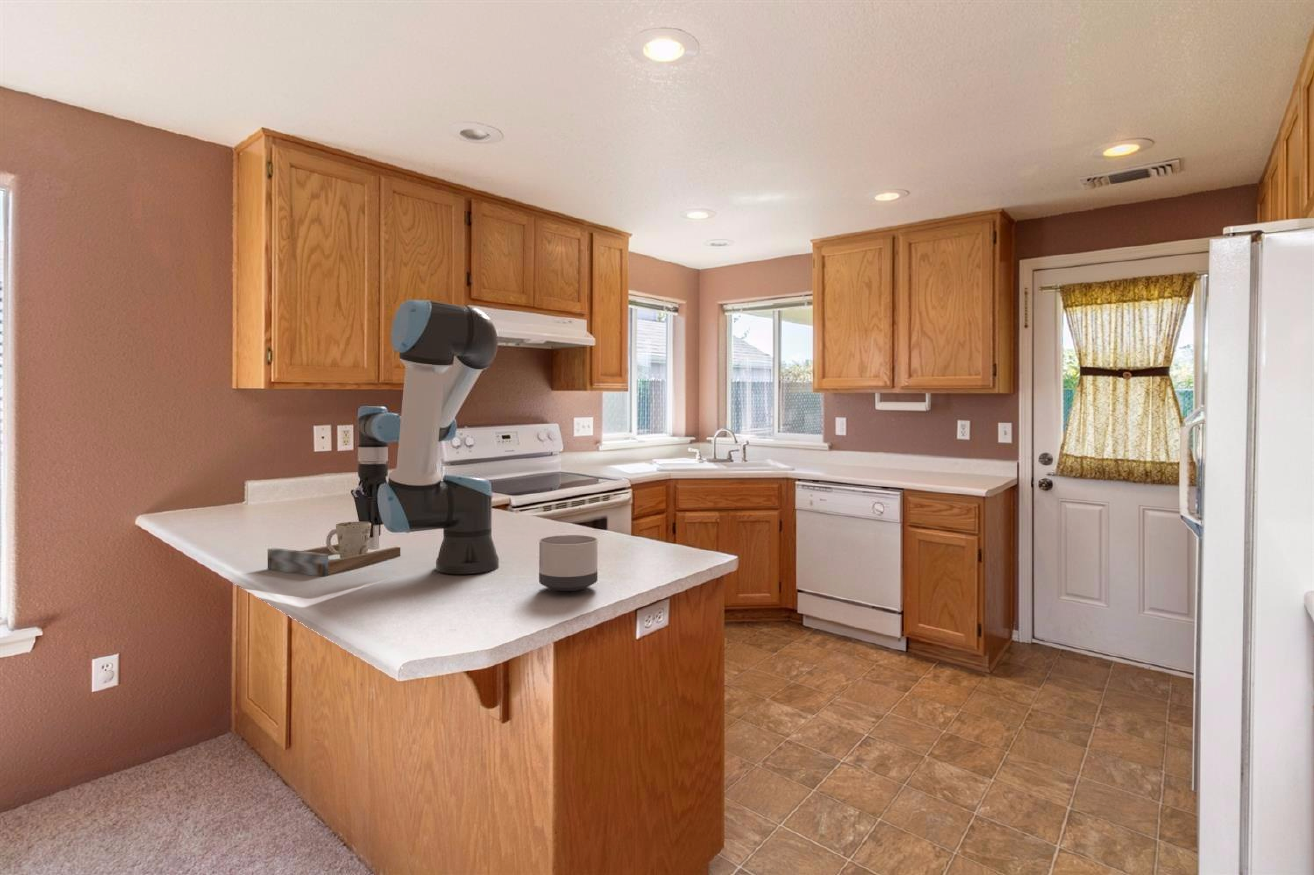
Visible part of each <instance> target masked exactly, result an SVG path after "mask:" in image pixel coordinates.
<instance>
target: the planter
mask: <svg viewBox="0 0 1314 875" xmlns="http://www.w3.org/2000/svg"><path fill="white" fill-rule="evenodd" d="M598 544H599V543H598V538H597V537H595V536H591V535H584V534H583V535H581V534H563V535H561V534H560V535H550V536H545V537H541V538H540V539H539V540H538V548H539V549H538V582H539V584H540V585H542V586H544V587H546V588H549V589H551V590H553V591H558V592H574V591H582V590H583V589H586V588H589V587H590V586H592V585H594V584H596V583H598V582H597V581H598V570H599V569H598V564H599V563H598V562H599V560H598V556H599V555H598V554H599V553H598V549H599V548H598V547H599V546H598Z"/></svg>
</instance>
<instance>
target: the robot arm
mask: <svg viewBox="0 0 1314 875" xmlns="http://www.w3.org/2000/svg"><path fill="white" fill-rule="evenodd" d="M390 338H391V340H390V341H391V346H392V349H393V350H394V351H395V352H397V353H398V359H399V360H400V362H401V363H402V364H403V365H404V367H405V370H404V380H403V392H402V402H401V412H400V413H399V412H398V413H397V412H395V413H394V412H389V411H388V408H387V407H386V406H371V405H369V406H368V405H365V406H359V408H358V412H357V417H356V418H357V419H356V421H357V443H358V444H357V461H358V462H359V464H358V465H357V477H359V481H358V486H357V487H356V488H355V489H351V491H350V494H351V496H352V498H353V501H354V505H355V510H356V514H357V519H358V522H370V523H371V529H370V537H369V544H368V550H375V551H377V550H380V536H381V533H382V531H381V526H383V525H384V527H385V529H386V530H387V531H389V532H390V533H392V534H394V533H395V534H398V533H401V534H402V533H406V534H409V533H415V532H423V531H424V532H425V531H432V530H433V531H435V530H441V529H442V530H443V534H442V535H443V536H442V538H443V539H442V542H441V544H440V547H439V551H438V554H437V555H438V556H437V557H436V561H435V571H437V572H438V573H441V574H447V575H448V574H449V575H470V574H480V573H487V572H490V571H491V572H492V571H494V570H496V569H498V568H499V563H500V562H499V560H500V558H499V555H498V553H497V550H496V547H495V543H494V540H493V537H492V530H493V529H492V526H493V525H492V524H493V522H492V519H493V518H492V516H493V513H492V512H493V508H492V507H493V505H492V504H493V500H492V499H493V491H492V483H491V481H490V480H488V479H487V478H484V477H473V476H464V475H457V474H456V475H453V474H444V475H443V478H442V476H441V475H440V474H439V473H438V472H437V470H436V466H437V457H438V448H439V443H441V442H447V441H452V440H453V439H454V438H456V435H457V430H458V429H457V428H458V425H457V423H458V422H457V420H456V416H457V414H458V413H459V411H460V409H461V407H462V406H463V404H464V403H465V401H466V399H467V397H468V396H469V393H470V392H471V390H472V389H473V387H474V385H475V384H476V382H477V380H478V379H479V378H480V375H481V373H482V372H483V370H487V369H488V368H489V367H490V366H491V365H492V363H493V362H494V360H495V358H496V355H497V352H498V348H499V347H498V346H499V344H498V343H499V340H498V339H499V338H498V332H497V329H496V327H495V324H494V323H493V321H492V320H491V319H490V317H489V316H488V315H487V314H486V313H484V312H483V311H482V310H480V309H479V308H476V307H474V306H471V305H461V304H460V305H459V304H454V303H446V302H440V301H439V302H438V301H433V300H431V301H430V300H428V299H427V300H426V299H409V300H405V301H404V302H402V303H401V305H400V306H399V307H398V309H397V310H396V312H395V315H394V317H393V321H392V325H391V334H390ZM394 442H397V443H398V447H397V455H396V456H397V458H396V459H397V460H396V467H395V468H394V469H393V470H392V471H391V472H389V469H388V468H389V464H388V463H387V462H388V461H389V453H388V451H389V450H388V449H389V445H388V444H389V443H394ZM387 477H388V480H387Z"/></svg>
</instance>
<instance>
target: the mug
mask: <svg viewBox="0 0 1314 875" xmlns="http://www.w3.org/2000/svg"><path fill="white" fill-rule="evenodd" d="M370 529H371V523H370V522H359V521H346V522H345V521H344V522H340V523H336V524H335V528H334V529H332V530H330V531H329V532H328V534H327V535H326V539H325V540H326V541H325V542H326V543H325V544H326V546H327V547H328V549H329V550H330V551H331V552H332V553H334V555H339V559H340V558H345V557H350V556H355V555H359V554H364V553H369V552H368V550H369V549H368V544H369V537H370ZM334 535H336V537H337V544H338V546H339V551H336V550H335V549H334V548H333V547H332V545H333V544H332V543H331V542H332V538H333V536H334Z"/></svg>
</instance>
